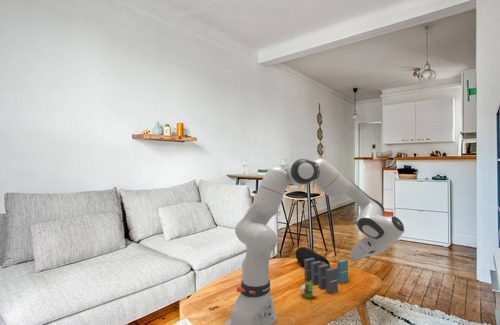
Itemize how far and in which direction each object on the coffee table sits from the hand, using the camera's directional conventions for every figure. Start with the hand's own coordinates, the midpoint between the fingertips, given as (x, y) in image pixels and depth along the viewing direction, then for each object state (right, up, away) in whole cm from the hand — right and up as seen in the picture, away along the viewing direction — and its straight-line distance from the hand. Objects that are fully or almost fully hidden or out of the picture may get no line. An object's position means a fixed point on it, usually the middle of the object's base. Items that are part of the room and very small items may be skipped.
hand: (359, 258), depth 138 cm
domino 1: (-22, -16, +14) cm, 30 cm away
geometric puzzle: (-26, -16, -5) cm, 31 cm away
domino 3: (-16, -16, +4) cm, 23 cm away
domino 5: (-5, -16, +10) cm, 19 cm away
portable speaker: (-17, -16, +30) cm, 38 cm away
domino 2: (-19, -16, +9) cm, 26 cm away
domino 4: (-14, -16, -1) cm, 21 cm away
